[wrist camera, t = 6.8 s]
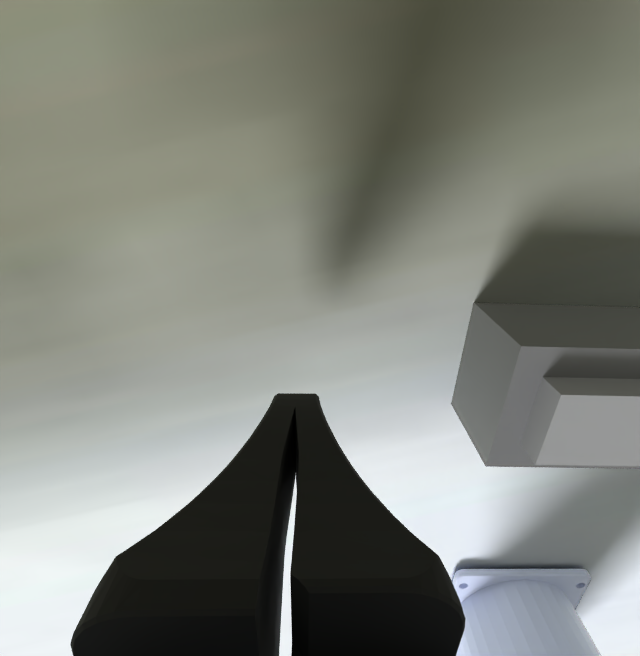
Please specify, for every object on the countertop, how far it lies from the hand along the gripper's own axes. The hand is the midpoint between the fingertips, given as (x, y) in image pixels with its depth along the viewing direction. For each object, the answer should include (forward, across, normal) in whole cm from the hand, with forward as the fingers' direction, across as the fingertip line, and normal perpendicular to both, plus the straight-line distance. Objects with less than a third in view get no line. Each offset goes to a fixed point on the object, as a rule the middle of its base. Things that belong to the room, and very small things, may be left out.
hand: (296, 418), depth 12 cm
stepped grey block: (+4, -12, 0) cm, 12 cm away
